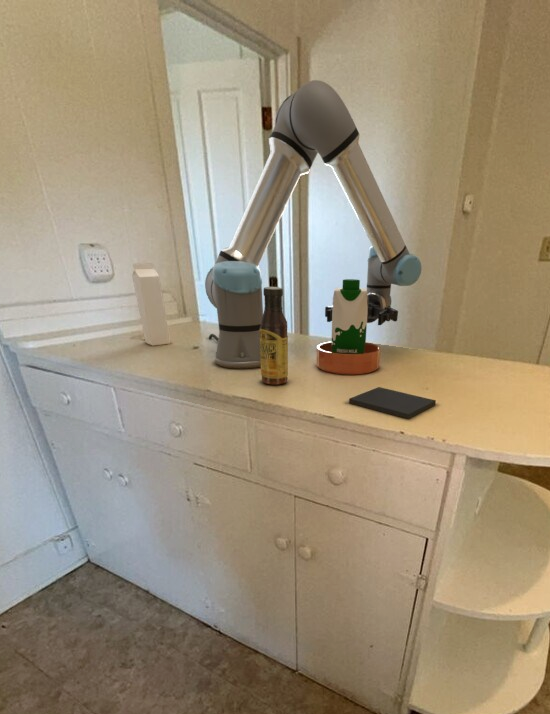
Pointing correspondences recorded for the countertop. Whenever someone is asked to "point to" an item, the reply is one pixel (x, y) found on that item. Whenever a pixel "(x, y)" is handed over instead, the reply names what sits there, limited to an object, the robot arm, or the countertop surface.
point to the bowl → (348, 360)
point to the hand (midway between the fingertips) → (353, 317)
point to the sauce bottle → (273, 339)
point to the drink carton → (349, 318)
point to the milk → (150, 304)
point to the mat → (392, 402)
